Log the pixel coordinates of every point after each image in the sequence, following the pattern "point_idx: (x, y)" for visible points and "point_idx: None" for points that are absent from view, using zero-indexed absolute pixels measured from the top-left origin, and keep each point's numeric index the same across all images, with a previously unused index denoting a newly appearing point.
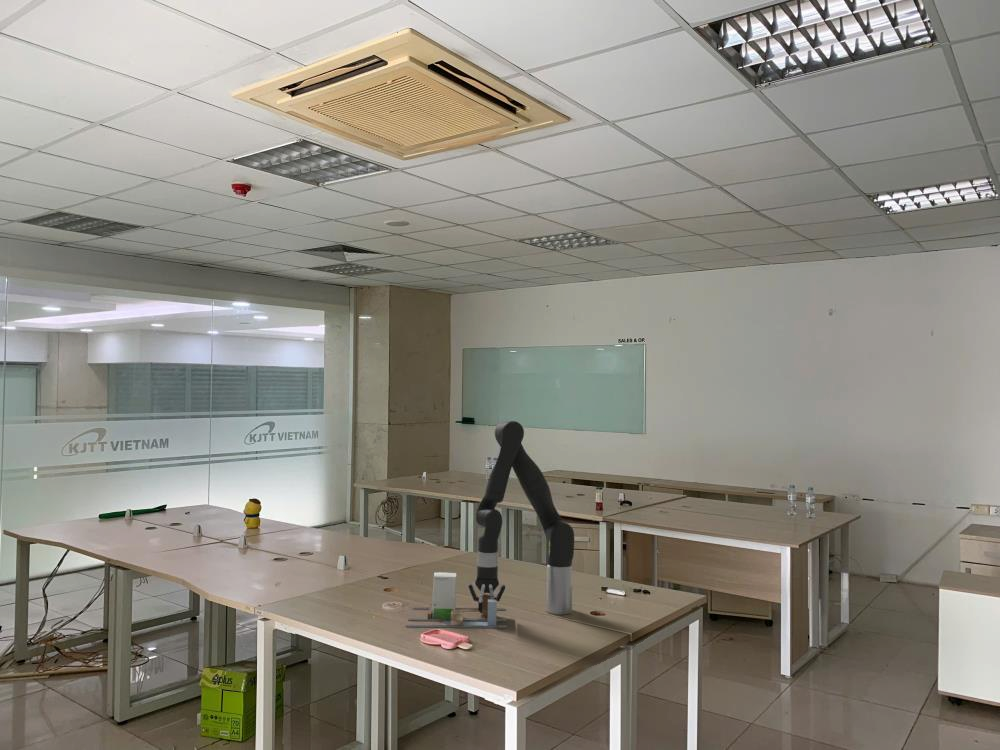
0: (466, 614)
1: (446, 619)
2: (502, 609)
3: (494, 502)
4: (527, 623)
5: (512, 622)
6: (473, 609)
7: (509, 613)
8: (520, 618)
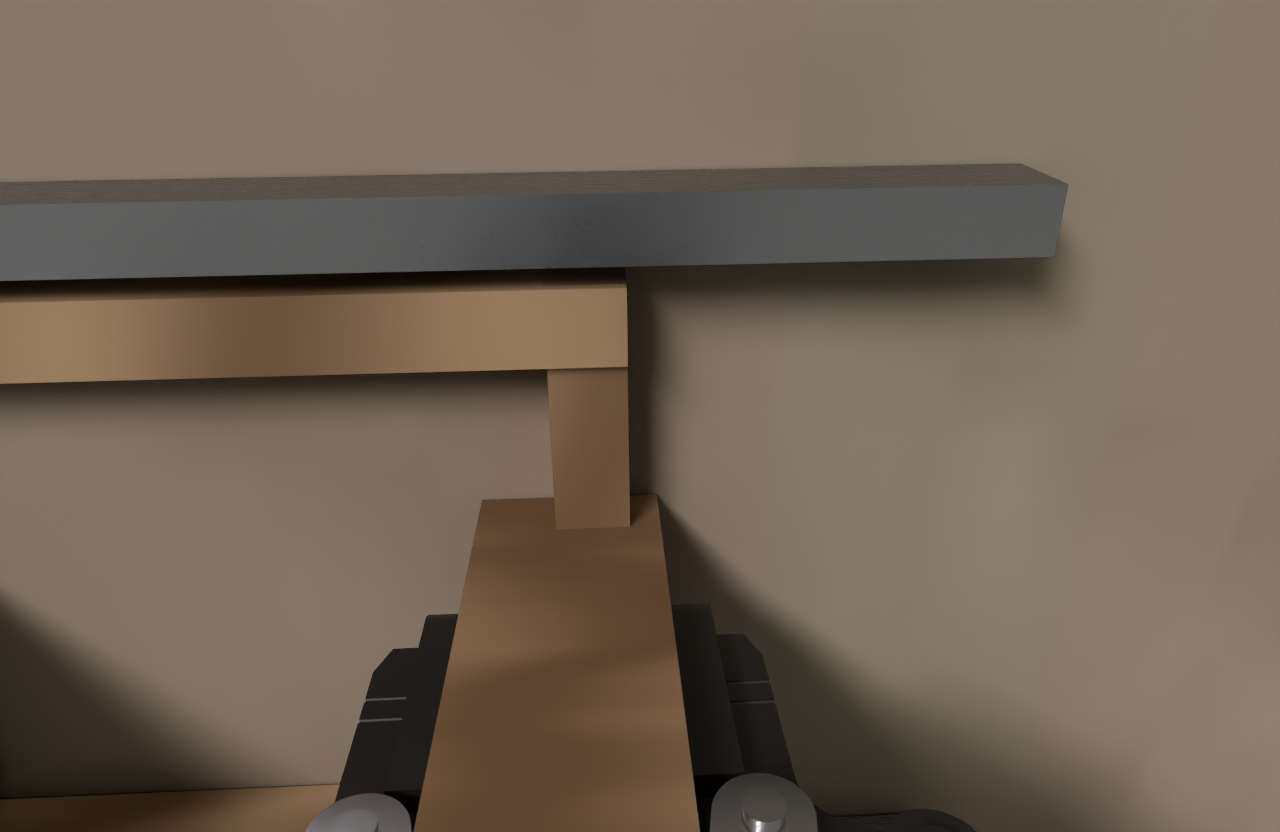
0: (108, 385)
1: None
2: (975, 256)
3: None
4: (1262, 769)
5: (1030, 748)
6: (209, 265)
7: (1102, 250)
8: (1234, 553)
